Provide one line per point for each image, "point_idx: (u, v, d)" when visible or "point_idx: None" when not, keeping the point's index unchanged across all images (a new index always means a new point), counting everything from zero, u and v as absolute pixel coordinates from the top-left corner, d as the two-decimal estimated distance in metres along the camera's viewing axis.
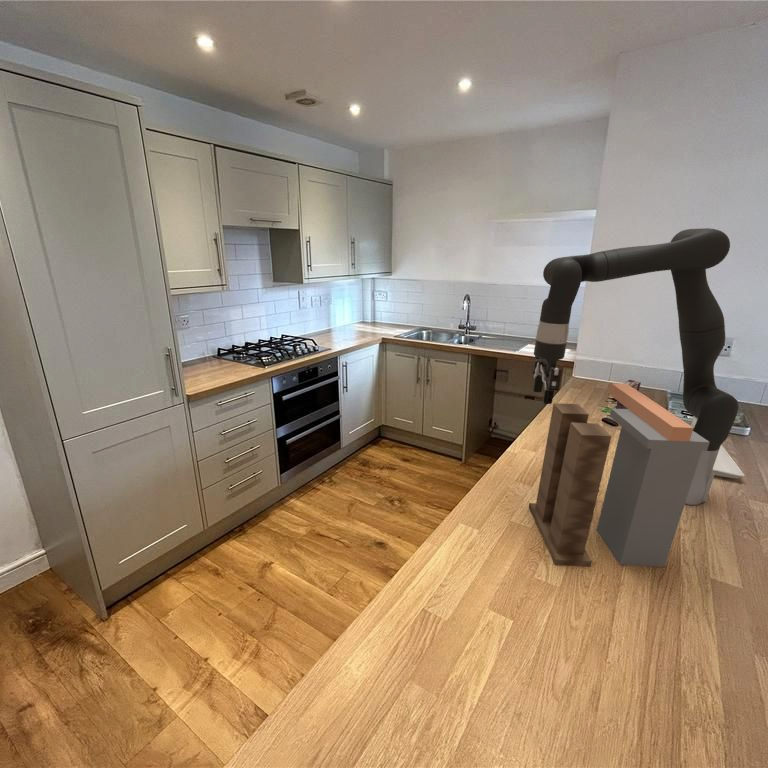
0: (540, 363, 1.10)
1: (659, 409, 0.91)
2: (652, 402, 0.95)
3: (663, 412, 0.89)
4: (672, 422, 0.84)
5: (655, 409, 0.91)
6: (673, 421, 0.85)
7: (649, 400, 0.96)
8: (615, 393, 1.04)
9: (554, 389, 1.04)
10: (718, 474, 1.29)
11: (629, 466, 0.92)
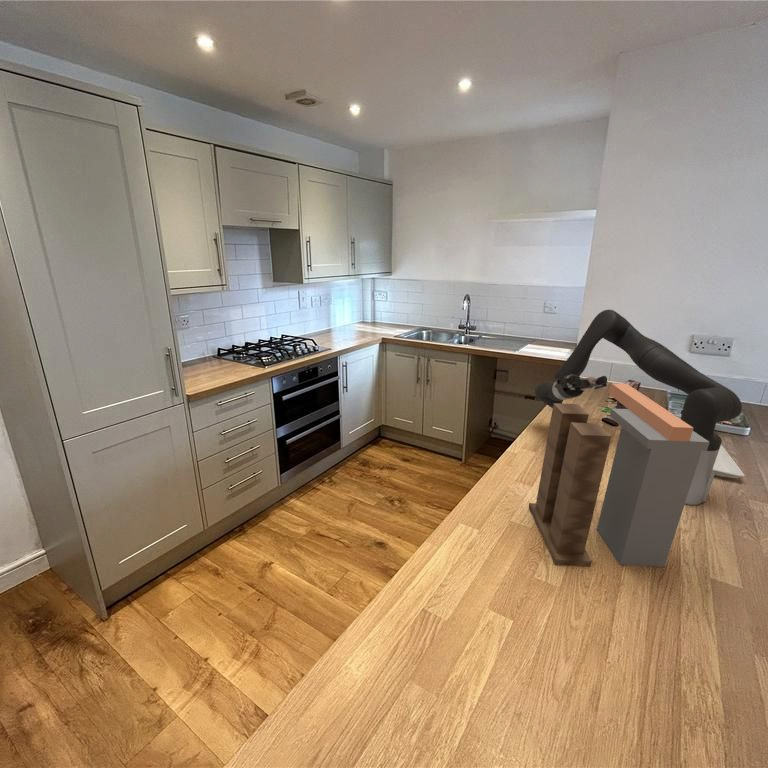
0: None
1: (659, 409, 0.91)
2: (652, 402, 0.95)
3: (663, 412, 0.89)
4: (672, 422, 0.84)
5: (655, 409, 0.91)
6: (673, 421, 0.85)
7: (649, 400, 0.96)
8: (615, 393, 1.04)
9: (560, 380, 1.27)
10: (718, 474, 1.29)
11: (629, 466, 0.92)
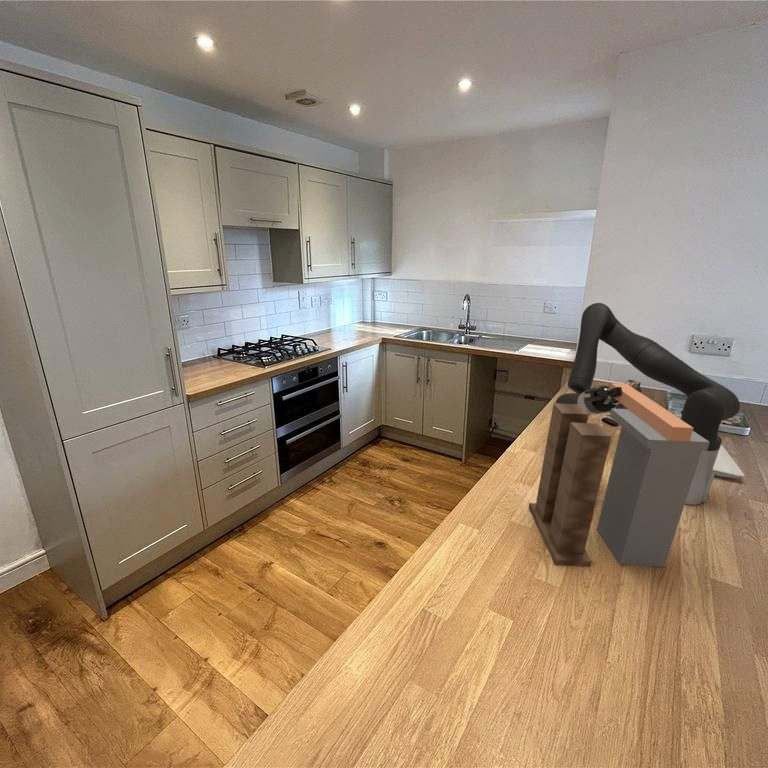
0: None
1: (659, 409, 0.91)
2: (652, 402, 0.95)
3: (663, 412, 0.89)
4: (672, 422, 0.84)
5: (655, 409, 0.91)
6: (673, 421, 0.85)
7: (649, 400, 0.96)
8: None
9: (599, 392, 1.07)
10: (718, 474, 1.29)
11: (629, 466, 0.92)
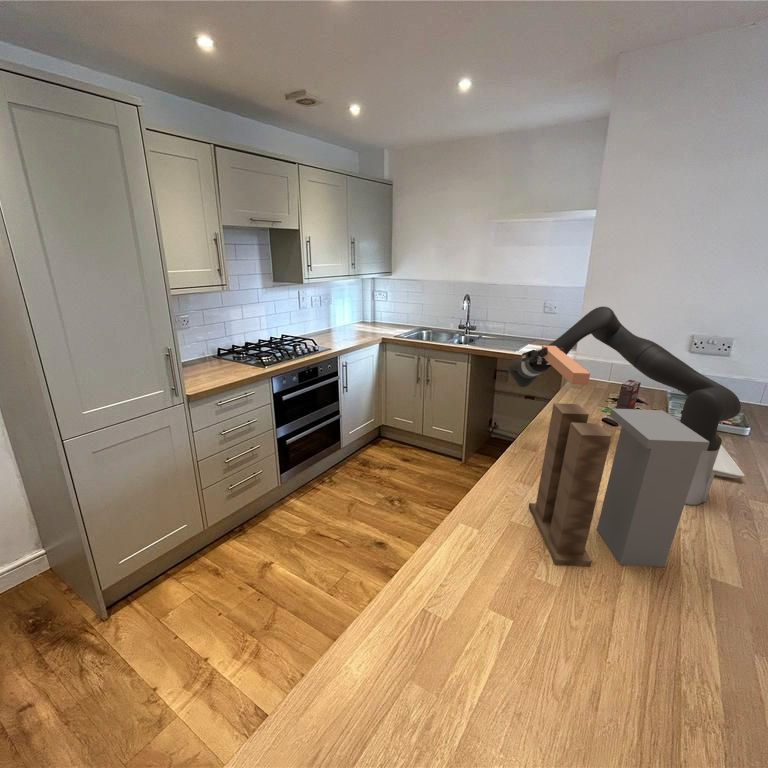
0: None
1: (571, 362, 1.10)
2: (568, 357, 1.14)
3: (572, 364, 1.09)
4: (575, 370, 1.04)
5: (567, 362, 1.10)
6: (576, 369, 1.04)
7: (566, 356, 1.15)
8: None
9: (531, 353, 1.26)
10: (718, 474, 1.29)
11: (629, 466, 0.92)
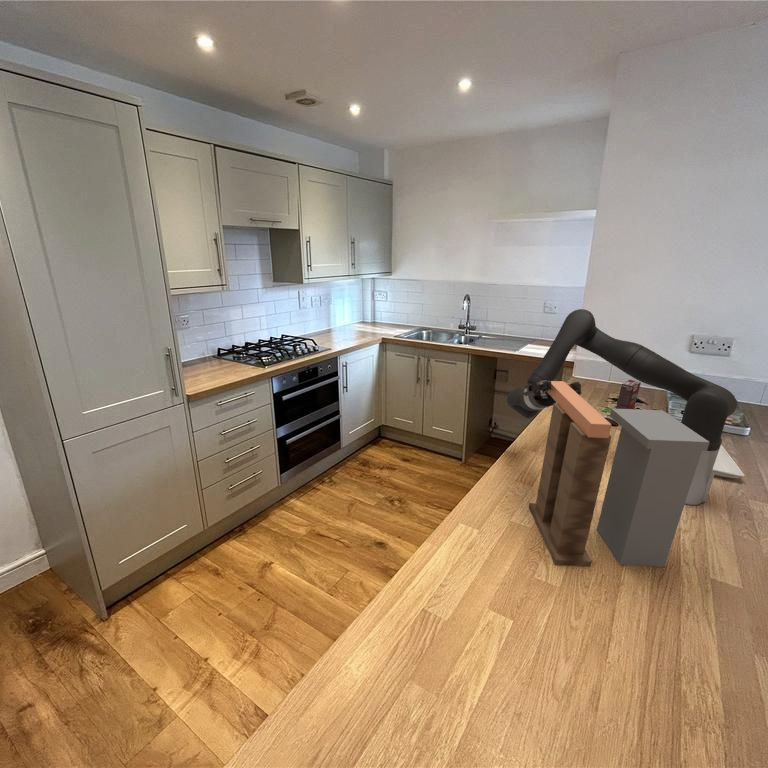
0: None
1: (586, 406, 0.92)
2: (581, 399, 0.95)
3: (587, 409, 0.90)
4: (592, 419, 0.85)
5: (581, 406, 0.91)
6: (594, 418, 0.85)
7: (579, 397, 0.96)
8: (551, 391, 1.05)
9: (532, 387, 1.07)
10: (718, 474, 1.29)
11: (629, 466, 0.92)
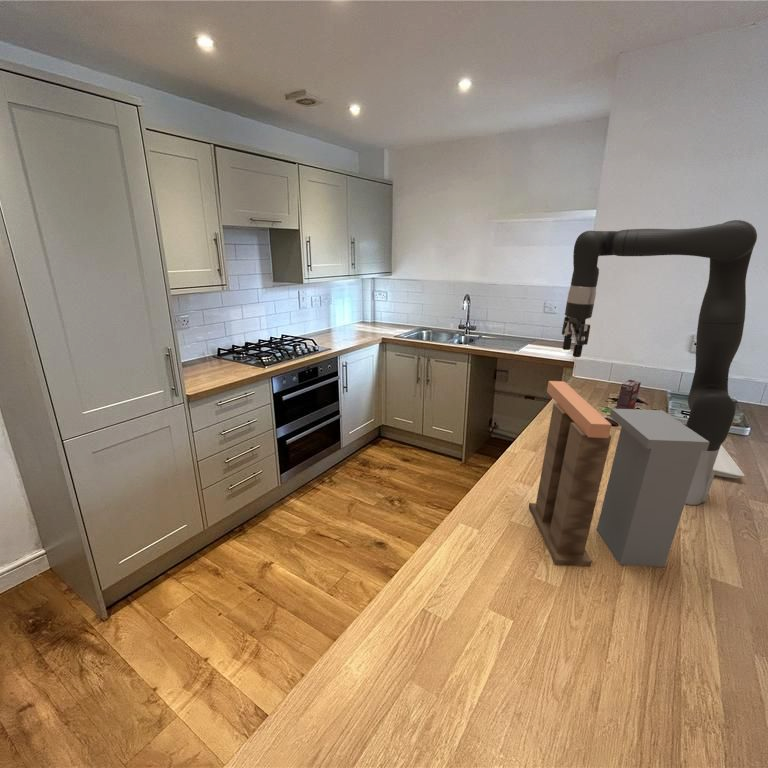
0: (570, 323, 1.28)
1: (586, 406, 0.92)
2: (581, 399, 0.95)
3: (587, 409, 0.90)
4: (592, 419, 0.85)
5: (581, 406, 0.91)
6: (594, 418, 0.85)
7: (579, 397, 0.96)
8: (551, 391, 1.05)
9: (583, 343, 1.22)
10: (718, 474, 1.29)
11: (629, 466, 0.92)
